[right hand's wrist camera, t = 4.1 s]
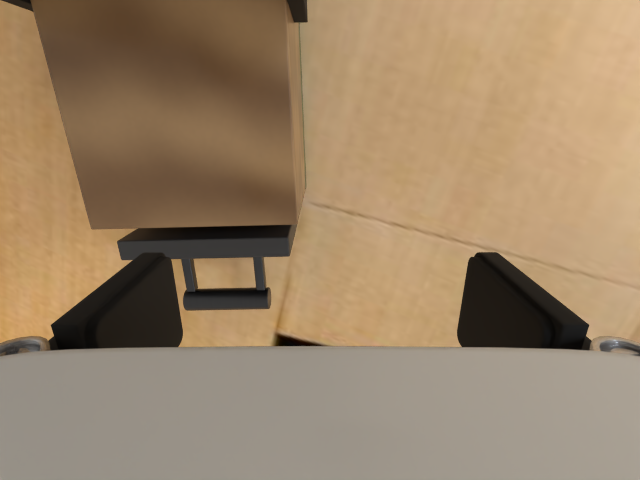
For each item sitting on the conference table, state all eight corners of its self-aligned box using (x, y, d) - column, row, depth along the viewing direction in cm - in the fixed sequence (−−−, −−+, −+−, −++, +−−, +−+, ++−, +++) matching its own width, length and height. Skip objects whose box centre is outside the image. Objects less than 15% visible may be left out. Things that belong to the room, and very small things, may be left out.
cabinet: (306, 187, 28) (297, 225, 18) (169, 190, 28) (90, 229, 18) (296, -38, 23) (278, -144, 13) (129, -31, 23) (-7, -132, 13)
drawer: (302, 275, 29) (294, 333, 22) (186, 278, 29) (139, 336, 22) (289, 19, 23) (272, -29, 15) (142, 24, 23) (52, -21, 15)
